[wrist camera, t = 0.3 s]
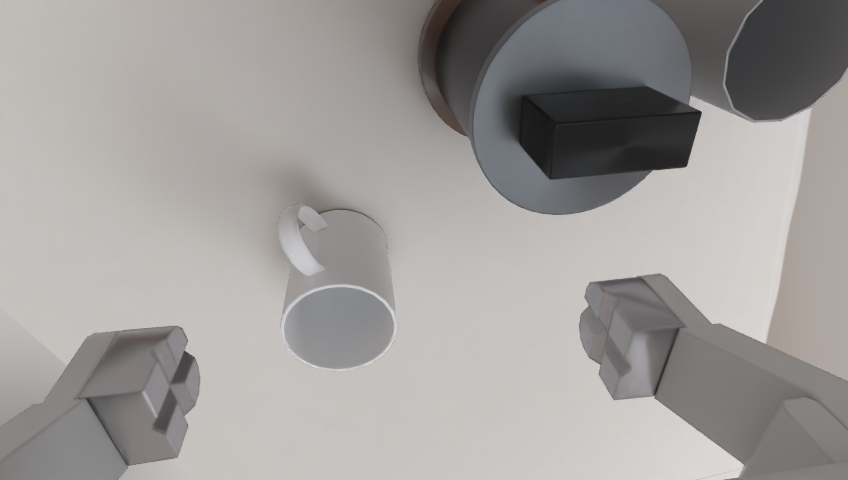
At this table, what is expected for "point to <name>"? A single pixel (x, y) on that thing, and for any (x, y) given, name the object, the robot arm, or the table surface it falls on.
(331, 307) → the mug
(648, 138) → the bin
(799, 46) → the cup
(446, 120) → the disc
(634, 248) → the table surface
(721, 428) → the robot arm
